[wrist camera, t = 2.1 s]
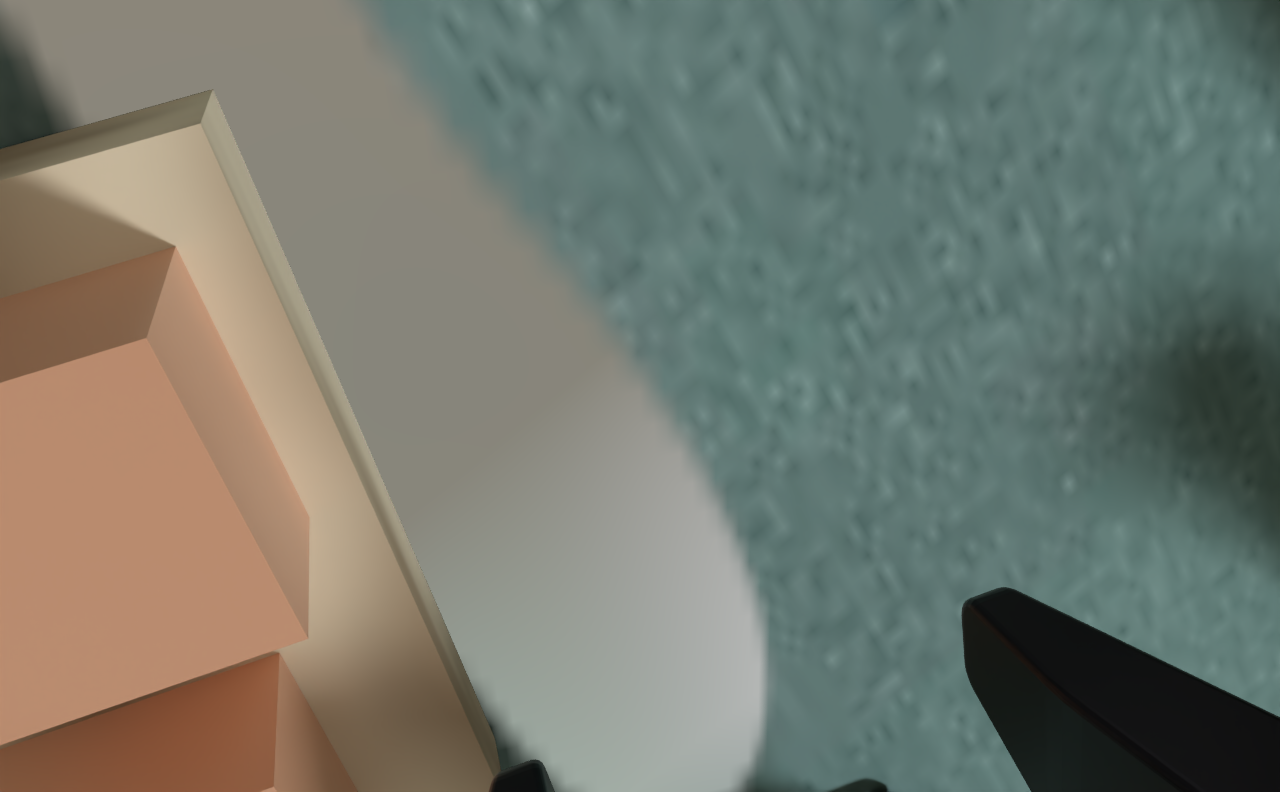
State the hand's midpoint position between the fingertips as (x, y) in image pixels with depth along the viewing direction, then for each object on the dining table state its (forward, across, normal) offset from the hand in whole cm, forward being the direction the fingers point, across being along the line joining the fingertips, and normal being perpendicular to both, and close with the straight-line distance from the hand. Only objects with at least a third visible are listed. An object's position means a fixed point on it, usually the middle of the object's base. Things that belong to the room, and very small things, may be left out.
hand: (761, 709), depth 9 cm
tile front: (+9, +8, 0) cm, 12 cm away
